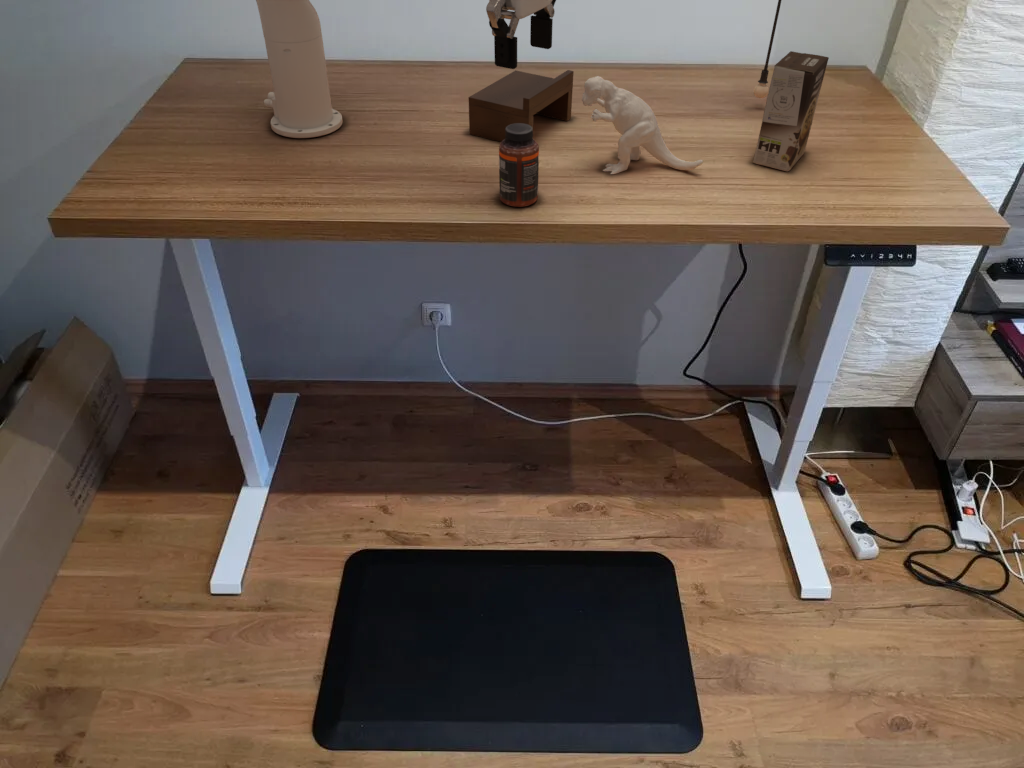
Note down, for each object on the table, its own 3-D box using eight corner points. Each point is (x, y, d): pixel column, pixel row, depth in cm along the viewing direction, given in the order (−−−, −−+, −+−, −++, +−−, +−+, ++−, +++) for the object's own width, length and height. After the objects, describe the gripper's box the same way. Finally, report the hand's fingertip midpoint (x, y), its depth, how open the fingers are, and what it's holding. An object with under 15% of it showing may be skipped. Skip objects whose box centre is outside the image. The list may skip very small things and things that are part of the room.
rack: (469, 134, 142) (468, 85, 137) (515, 105, 153) (515, 59, 147) (528, 148, 138) (529, 99, 132) (571, 118, 148) (573, 70, 143)
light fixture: (732, 107, 153) (759, -38, 137) (755, 99, 156) (784, -43, 140) (759, 118, 149) (790, -30, 133) (782, 110, 152) (816, -35, 136)
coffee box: (789, 172, 131) (814, 72, 121) (751, 163, 134) (772, 64, 124) (805, 153, 137) (830, 56, 127) (769, 144, 140) (790, 48, 130)
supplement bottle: (544, 195, 124) (546, 124, 117) (528, 211, 120) (530, 139, 113) (509, 187, 126) (509, 117, 119) (492, 203, 122) (492, 131, 115)
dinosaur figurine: (575, 172, 131) (581, 80, 121) (583, 148, 138) (589, 60, 129) (700, 183, 128) (716, 91, 118) (701, 158, 135) (716, 69, 126)
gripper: (532, -98, 107) (530, 36, 118) (461, -77, 95) (467, 70, 106) (583, -93, 104) (576, 44, 115) (516, -70, 93) (516, 80, 103)
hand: (523, 56), depth 111 cm, fingers open, 9 cm apart
